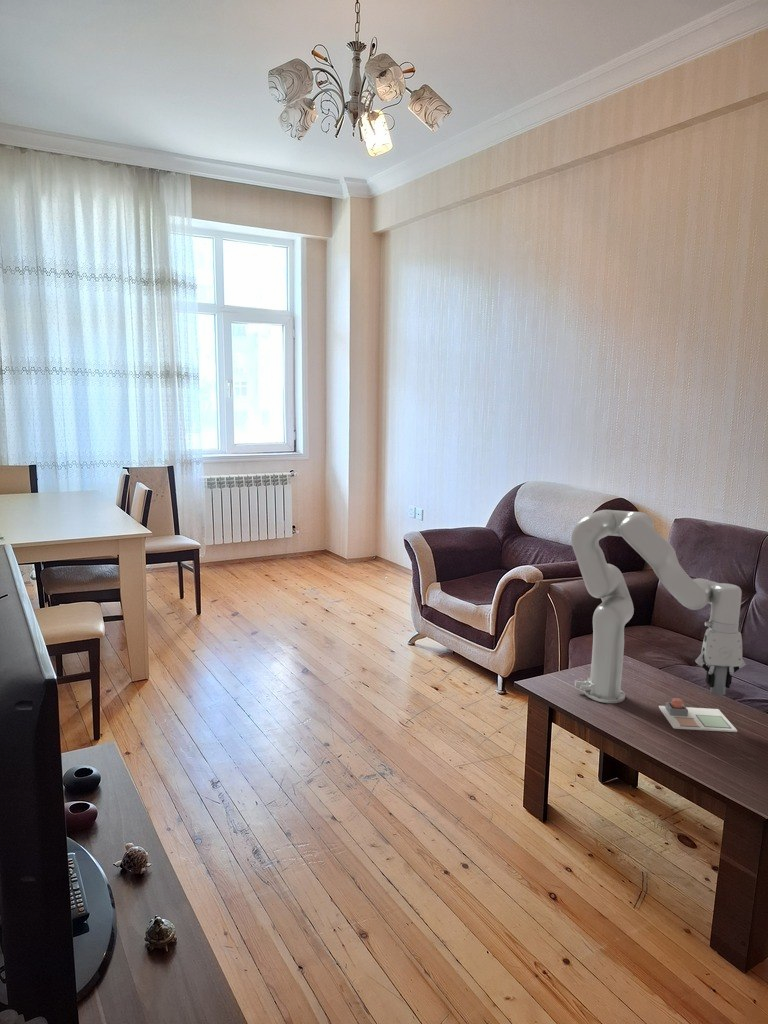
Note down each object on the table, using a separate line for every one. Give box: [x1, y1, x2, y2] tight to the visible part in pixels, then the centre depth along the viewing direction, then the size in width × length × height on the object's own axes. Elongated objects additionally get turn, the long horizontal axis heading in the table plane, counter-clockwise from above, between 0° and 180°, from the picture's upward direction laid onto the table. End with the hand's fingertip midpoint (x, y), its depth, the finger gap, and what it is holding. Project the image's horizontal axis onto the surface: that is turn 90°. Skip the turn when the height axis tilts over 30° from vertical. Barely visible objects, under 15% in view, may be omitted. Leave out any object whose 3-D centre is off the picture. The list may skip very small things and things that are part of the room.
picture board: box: [658, 701, 738, 733], centre depth 205 cm, size 18×14×2 cm
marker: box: [709, 666, 728, 697], centre depth 201 cm, size 4×4×11 cm
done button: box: [670, 697, 684, 709], centre depth 208 cm, size 3×3×2 cm
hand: (718, 685), depth 201 cm, fingers closed on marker, 3 cm apart
